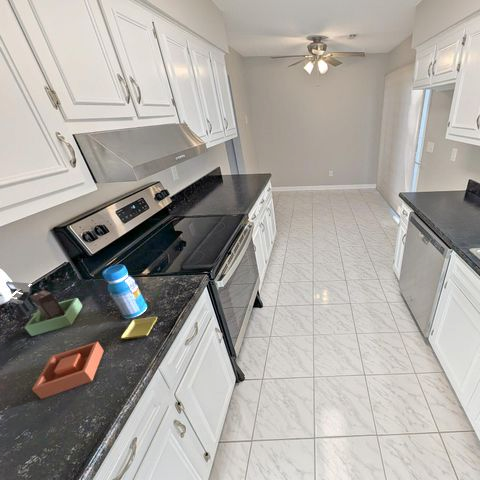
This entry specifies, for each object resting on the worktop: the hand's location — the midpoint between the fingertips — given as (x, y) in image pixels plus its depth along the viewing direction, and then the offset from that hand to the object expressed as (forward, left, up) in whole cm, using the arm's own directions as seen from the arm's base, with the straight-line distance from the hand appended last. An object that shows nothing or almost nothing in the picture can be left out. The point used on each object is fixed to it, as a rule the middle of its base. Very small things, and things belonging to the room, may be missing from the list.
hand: (5, 318), depth 67 cm
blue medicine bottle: (+20, +18, -22) cm, 35 cm away
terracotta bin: (+8, -5, -22) cm, 23 cm away
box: (-7, +27, -21) cm, 35 cm away
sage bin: (-7, +27, -22) cm, 36 cm away
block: (+8, -5, -21) cm, 23 cm away
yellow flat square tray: (+24, +5, -22) cm, 33 cm away
